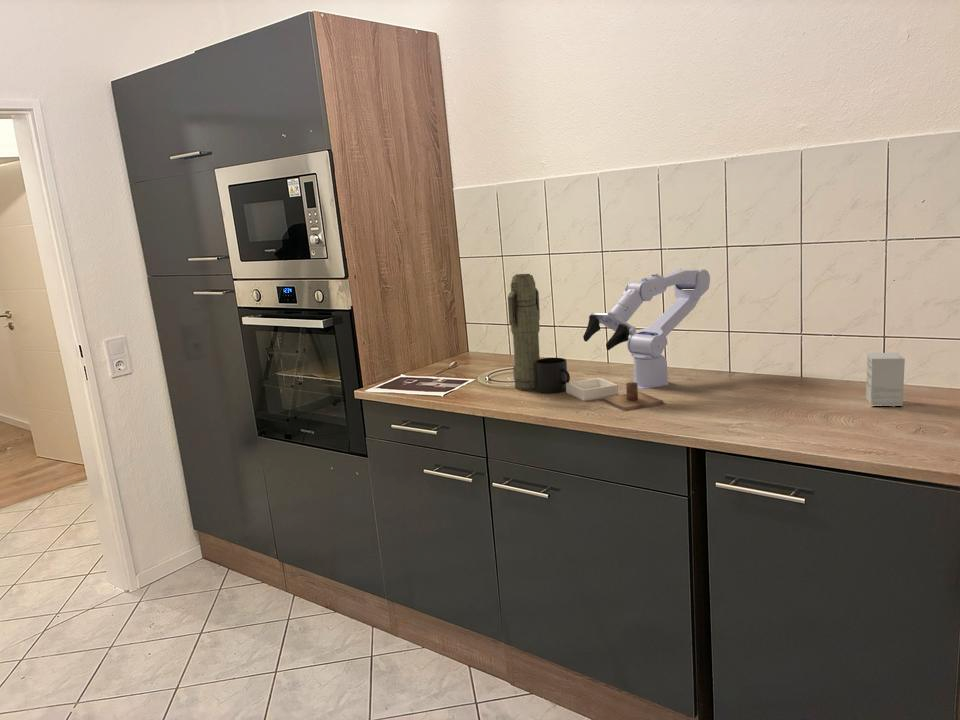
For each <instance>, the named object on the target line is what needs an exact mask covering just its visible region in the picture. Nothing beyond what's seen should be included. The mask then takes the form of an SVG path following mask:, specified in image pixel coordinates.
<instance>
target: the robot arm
mask: <svg viewBox="0 0 960 720" xmlns="http://www.w3.org/2000/svg"><path fill="white" fill-rule="evenodd" d="M681 269H682V268H679V269H675V270H674V271H672V272H670V273H667V274H666V275H662V274H659V273H651V276H650V277H641V279H640V280H633V281H630V282H627V283H626V285H625V287H624V291H623V293H622V294H621V297H620V298H619V300H618V301H617V302H616V303H615V304H614V305H613V307H612V308H610V310H609V311H608V312H607V313H606V312H604V313H603V312H593V311H591V313H590V314H589V315H588V323H587V327H586V330H585V332H584V334H583V336H582V338H583V341H584V342H588V341H589V340H590V339H591V338H592V337H593V335H595V334H596V333H597V332H599V331H601V326H600V324H602V325H603V326H605V327H607V328H608V329H610V330H611V331H613V332H614V333H613V335H612V336H611V337H610V339H608V341H607V343H605V346H606V350H607V351H610V350H611V349H613V348H614V347H615V346H618V345H620V344H622V343H624V342H627V343H626V347H627V350H628V352H629V353H630V356H631V357H632V358H633V382H636V383H637V384H638V389H640V390H646V389H651V388H657V387H664V386H669V385H670V384H669V382H668V379H669V378H668V362H667V361H668V360H667V359H666V357H665V356H664V355H663V352H664V349H665V348H666V346H667V345H668V338H667V336H668V335H670V333H671V332H672V331H673V330H674V329H676V327H677V326H678V325H679V324H680V323H681V322H682V321H683V320H684V319H685V318H686V317H687V316H688V315H689V314H690V313H691V312H692V311H693V310H694V308H696V306H697V304H698V303H699V300H700V299H701V297H702V296H703V295H705V293H706V292H707V291H708V290H709V289H710V283H711V275H710V273H709V271H708V270H707V269H705V268H704V269H703V268H702V269H684V270H681ZM673 286H674V287H673ZM668 287H673V289H674V297H675V298H676V300H675V301H674V302H673V303H672V304H671V305H670V306H669V307H668V308H667V309H666V310H665V311H664V312H663V313H662V314H661V315H660V316H659V317H658V318H657V319H656V320H655V321H654V322H653V323H651V325H649V326H648V327H645V328H641V329H639V330H638V331H637V327H636V326H633V325H631V324H630V323H629V322H628V321H629V320H630V319H631V318H632V316H633V315H634V314H635V312H636V311H637V310H638V309H639V308H640V307H641V305H642V304H643V303H644V302H651V301H652V299H653V297H654V296H656V297H657V296H658V295H660V294H664V293H665V292H666V290H667V289H668ZM682 289H694V290H682Z"/></svg>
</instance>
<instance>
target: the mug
mask: <svg viewBox="0 0 960 720" xmlns="http://www.w3.org/2000/svg"><path fill="white" fill-rule="evenodd" d="M535 366H536V384H537V389H536V390H537V391H538V392H540V393H542V394H543V393H544V394H556V393H558V394H559V393H562V392H565V391H566V383H568V382H571V377H570V373H569V371H568V363H567V359H566V358H562V357H543V358H540V359H539V360H536V361H535Z"/></svg>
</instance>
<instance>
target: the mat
mask: <svg viewBox="0 0 960 720" xmlns="http://www.w3.org/2000/svg"><path fill="white" fill-rule="evenodd" d="M599 401H600V402H603V403H604V404H607V405H608V406H611V407H613V408H615V409H618V410H620V411H622V412H629V411H634V410H640V409H645V408H651V407H657V406H663V405H666V403H665V402H663V404H659V405H653V406H647V407H642V408H636V409H630V410H623V409H620V408H618V407H616V406H613V405H611V404H609V403H607V402H604V401H602V400H601V399H600V400H599Z"/></svg>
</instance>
